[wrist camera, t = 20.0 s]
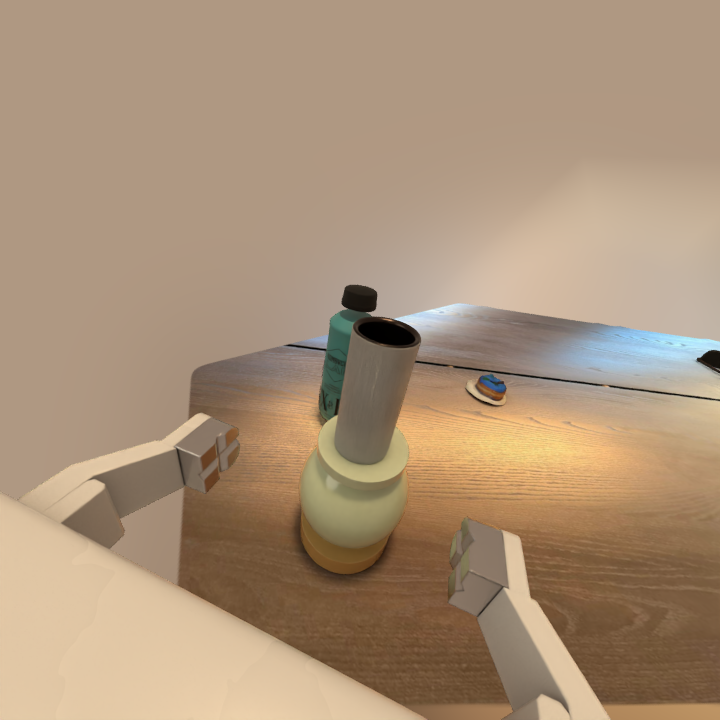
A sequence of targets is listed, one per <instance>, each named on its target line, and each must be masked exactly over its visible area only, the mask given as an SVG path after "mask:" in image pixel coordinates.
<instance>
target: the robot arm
mask: <svg viewBox="0 0 720 720" xmlns="http://www.w3.org/2000/svg"><path fill="white" fill-rule="evenodd" d="M238 436H239V430H238V428H236V427H234V426H232V425H229V424H227V423H225V422H222V421H220V420H218V419H215V418H213V417H210V416H208V415H205V414H203V413H200V414H196V415H195V416H193V417H192V418H191V419H189V420H188V421H187V422H185V423H184V424H183V425H181V426H180V427H179V428H177V429H176V430H175V431H173V432H172V433H171V434H169V435H168V436H167V437H165V438H164V439H163V440H161V441H158V440H156V441H152V442H149V443H145V444H142V445H138V446H135V447H131V448H128V449H125V450H121V451H118V452H114V453H111V454H108V455H104V456H101V457H97V458H94V459H91V460H87V461H84V462H80V463H77V464H73V465H71V466H69V467H67V468H65V469H64V470H62V471H61V472H59V473H58V474H56V475H55V476H53V477H51V478H50V479H49V480H47V481H45V482H44V483H42V484H41V485H39V486H37V487H36V488H34V489H33V490H31V491H30V492H28V493H27V494H25V495H23V496H22V497H20V498H19V499H17V500H16V499H14V498H12V497H11V496H9V495H7V494H5V493H3V492H1V491H0V720H428V719H426V718H425V717H423V716H421V715H419V714H417V713H415V712H413V711H411V710H410V709H408V708H406V707H404V706H402V705H400V704H398V703H396V702H395V701H393V700H391V699H389V698H387V697H385V696H383V695H381V694H380V693H378V692H376V691H374V690H372V689H370V688H368V687H366V686H365V685H363V684H361V683H359V682H357V681H355V680H353V679H352V678H350V677H348V676H346V675H344V674H342V673H340V672H338V671H337V670H335V669H333V668H331V667H329V666H327V665H325V664H323V663H322V662H320V661H318V660H316V659H314V658H312V657H310V656H308V655H307V654H305V653H303V652H301V651H299V650H297V649H295V648H293V647H292V646H290V645H288V644H286V643H284V642H282V641H280V640H278V639H277V638H275V637H273V636H271V635H269V634H267V633H265V632H263V631H262V630H260V629H258V628H256V627H254V626H252V625H250V624H248V623H247V622H245V621H243V620H241V619H239V618H237V617H235V616H234V615H232V614H230V613H228V612H226V611H224V610H222V609H220V608H219V607H217V606H215V605H213V604H211V603H209V602H207V601H205V600H204V599H202V598H200V597H198V596H196V595H194V594H192V593H190V592H189V591H187V590H185V589H183V588H181V587H179V586H177V585H175V584H174V583H172V582H170V581H168V580H166V579H164V578H162V577H160V576H158V575H157V574H155V573H153V572H151V571H149V570H147V569H145V568H143V567H142V566H140V565H138V564H136V563H134V562H132V561H130V560H128V559H127V558H125V557H123V556H121V555H119V554H117V553H115V552H114V551H112V550H110V548H111V547H112V546H113V545H114V544H115V543H116V542H117V541H118V540H119V539H120V538H121V537H122V536H123V535H124V531H125V530H124V528H123V526H122V523H121V521H120V518H122V517H124V516H127V515H129V514H130V513H133V512H135V511H136V510H139V509H141V508H143V507H145V506H146V505H149V504H151V503H153V502H155V501H156V500H159V499H161V498H163V497H165V496H167V495H168V494H171V493H173V492H175V491H177V490H179V489H181V488H183V487H184V485H185V486H188V487H190V488H193V489H195V490H197V491H200V492H202V493H205V494H206V493H207V492H208V491H209V490H210V489H211V488H212V487H213V485H214V484H215V483H216V482H217V481H218V480H219V479H220V472H222V471H225V470H227V469H229V468H230V467H231V466H232V465H233V463H234V462H235V460H236V459H237V457H238V455H239V451H240V444H239V442H238V441H237V439H236V438H237V437H238ZM449 562H450V564H451V567H452V569H453V572H452V573H451V575H450V577H449V581H448V603H449V604H451V605H453V606H455V607H457V608H459V609H461V610H464V611H466V612H468V613H470V614H472V615H474V616H476V617H478V618H477V621H478V623H479V626H480V628H481V631H482V633H483V636H484V638H485V641H486V644H487V646H488V649H489V651H490V654H491V656H492V659H493V661H494V664H495V666H496V669H497V671H498V674H499V677H500V679H501V682H502V684H503V687H504V689H505V692H506V694H507V697H508V699H509V702H510V705H511V707H512V710H513V712H512V713H510V714H509V715H507V716H506V717H504V718H503V719H501V720H611V719H610V717H609V716H608V714H607V713H606V711H605V709H604V708H603V706H602V705H601V703H600V701H599V700H598V698H597V697H596V695H595V693H594V692H593V690H592V689H591V687H590V686H589V684H588V682H587V681H586V679H585V678H584V676H583V674H582V673H581V671H580V670H579V668H578V666H577V665H576V663H575V662H574V660H573V658H572V657H571V655H570V654H569V652H568V651H567V649H566V647H565V646H564V644H563V643H562V641H561V639H560V638H559V636H558V635H557V633H556V631H555V630H554V628H553V627H552V625H551V623H550V622H549V620H548V619H547V617H546V615H545V614H544V612H543V611H542V609H541V608H540V606H539V604H538V603H537V601H535V600H533V599H531V597H530V591H529V585H528V580H527V574H526V568H525V562H524V556H523V550H522V544H521V540H520V538H519V536H517V535H514V534H512V533H509V532H507V531H504V530H501V529H499V528H497V527H495V526H492V525H489V524H486V523H484V522H481V521H478V520H476V519H473V518H470V517H468V516H467V517H465V518H464V519H463V521H462V526H461V530H458V531H457V532H456V534H455V536H454V538H453V541H452V545H451V550H450V561H449Z"/></svg>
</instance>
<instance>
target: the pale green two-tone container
mask: <svg viewBox="0 0 720 720" xmlns="http://www.w3.org/2000/svg"><path fill="white" fill-rule="evenodd" d="M337 417H338V415H337V416H335V417H333V418H331V419H330V420H329V421H327V422H326V423H325V424H324V426H323V427H322V429H321V430H320V433H319V436H318V443H317V445H316V446H315V447H314V449H313V450H312V451H311V452H310V454H309V455H308V457H307V459H306V461H305V463H304V465H303V468H302V471H301V475H300V479H299V500H300V504H301V508H302V513H301V523H300V534H301V539H302V542H303V545H304V547H305V549H306V551H307V553H308V554H309V556H310V557H311V558H312V559H313V560H314V561H315V562H316V563H317V564H318V565H319V566H321V567H323V568H324V569H326V570H328V571H331V572H334V573H338V574H353V573H358V572H360V571H363V570H365V569H367V568H369V567H370V566H371V565H373V564H374V563H375V562H376V561H377V560H378V558H379V557H380V556H381V554H382V552H383V550H384V548H385V545H386V543H387V540H388V537H389V535H390V534H391V533H392V532H393V530H394V529H395V528H396V527H397V525H398V524H399V522H400V521H401V519H402V517H403V515H404V513H405V510H406V506H407V503H408V497H409V481H408V474H407V471H406V465H407V462H408V459H409V447H408V444H407V441H406V439H405V437H404V435H403V434H402V433H401V431H400V430H399V429H398V428H397V427H396V426H395V430H394V433H393V436H392V440H391V443H390V446H389V449H388V452H387V454H386V455H385V457H384V458H383V459H382V460H380V461H378V462H376V463H373V464H358V463H354V462H351V461H349V460H347V459H346V458H344V457H343V456H342V455H341V454H340V453H339V452H338V450H337V449H336V446H335V442H334V438H335V430H336V424H337Z"/></svg>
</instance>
